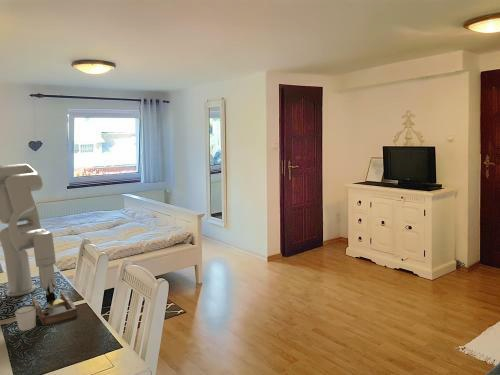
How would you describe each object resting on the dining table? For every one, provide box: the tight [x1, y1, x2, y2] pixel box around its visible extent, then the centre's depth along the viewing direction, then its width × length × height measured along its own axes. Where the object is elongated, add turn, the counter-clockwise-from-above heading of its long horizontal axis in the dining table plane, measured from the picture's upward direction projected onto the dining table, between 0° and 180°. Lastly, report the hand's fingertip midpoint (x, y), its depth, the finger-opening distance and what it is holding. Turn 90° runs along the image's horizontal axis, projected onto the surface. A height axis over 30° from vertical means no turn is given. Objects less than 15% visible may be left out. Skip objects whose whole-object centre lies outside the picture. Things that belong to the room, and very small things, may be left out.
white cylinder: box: [14, 305, 37, 332], centre depth 153 cm, size 7×7×7 cm
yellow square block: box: [47, 298, 66, 310], centre depth 170 cm, size 5×5×3 cm
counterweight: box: [47, 306, 67, 315], centre depth 161 cm, size 6×6×3 cm
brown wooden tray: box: [31, 289, 78, 326], centre depth 168 cm, size 26×12×3 cm, turn 36°
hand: (51, 302), depth 172 cm, fingers closed
